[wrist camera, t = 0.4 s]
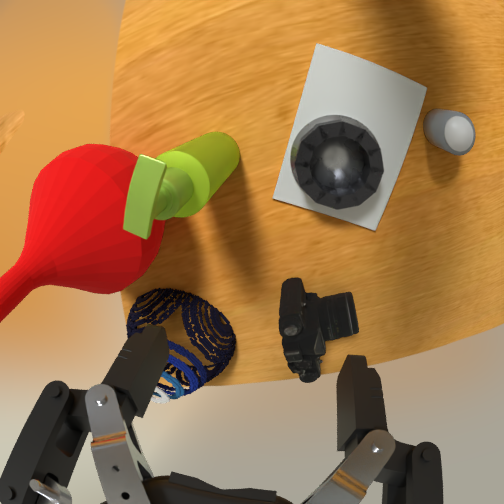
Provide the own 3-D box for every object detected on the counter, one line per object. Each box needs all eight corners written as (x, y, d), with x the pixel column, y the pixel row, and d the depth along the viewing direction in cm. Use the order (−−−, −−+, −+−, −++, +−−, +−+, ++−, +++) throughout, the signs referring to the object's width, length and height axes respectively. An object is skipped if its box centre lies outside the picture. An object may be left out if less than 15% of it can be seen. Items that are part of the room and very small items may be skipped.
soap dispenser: (250, 133, 33) (194, 177, 16) (230, 184, 37) (167, 271, 19) (205, 117, 33) (109, 146, 15) (188, 167, 36) (96, 238, 19)
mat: (316, 43, 26) (316, 43, 26) (425, 87, 26) (427, 87, 26) (272, 197, 37) (272, 198, 36) (374, 229, 36) (375, 230, 36)
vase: (211, 220, 39) (91, 420, 14) (123, 266, 46) (16, 407, 20) (141, 106, 33) (-81, 177, 7) (64, 176, 39) (-84, 275, 14)
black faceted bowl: (304, 102, 30) (305, 102, 27) (392, 134, 30) (402, 138, 27) (279, 188, 35) (277, 197, 32) (362, 214, 35) (368, 226, 32)
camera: (357, 334, 46) (364, 381, 37) (296, 344, 49) (293, 391, 40) (348, 265, 40) (358, 313, 31) (275, 280, 43) (268, 328, 34)
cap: (429, 101, 27) (448, 103, 22) (460, 119, 27) (481, 124, 22) (418, 137, 30) (435, 144, 25) (448, 153, 30) (468, 163, 25)
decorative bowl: (257, 354, 51) (243, 422, 39) (178, 373, 59) (156, 428, 46) (189, 271, 44) (152, 337, 32) (115, 308, 52) (77, 361, 39)
